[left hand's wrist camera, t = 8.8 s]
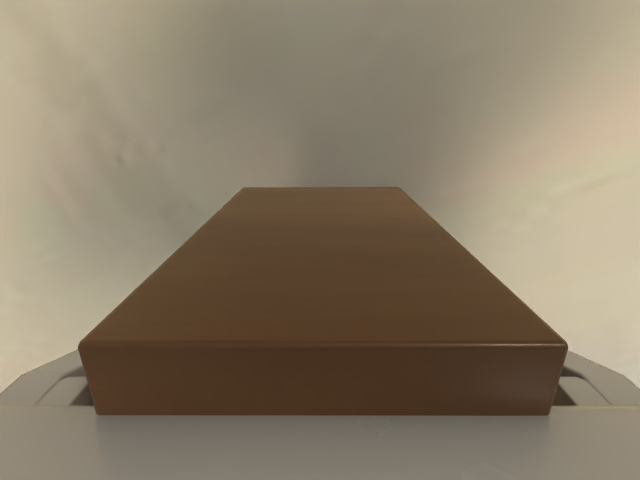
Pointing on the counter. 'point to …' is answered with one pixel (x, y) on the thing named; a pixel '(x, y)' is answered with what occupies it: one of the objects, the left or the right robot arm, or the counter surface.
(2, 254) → the counter surface
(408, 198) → the box
